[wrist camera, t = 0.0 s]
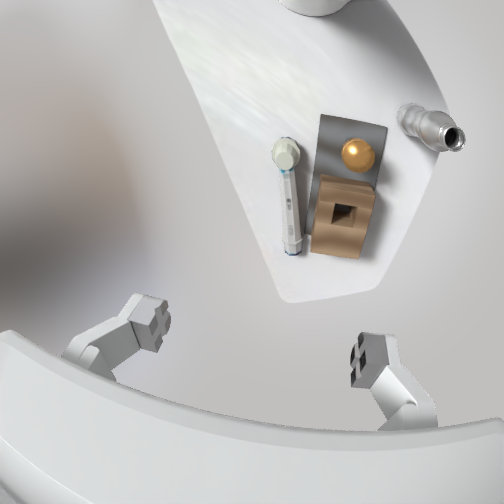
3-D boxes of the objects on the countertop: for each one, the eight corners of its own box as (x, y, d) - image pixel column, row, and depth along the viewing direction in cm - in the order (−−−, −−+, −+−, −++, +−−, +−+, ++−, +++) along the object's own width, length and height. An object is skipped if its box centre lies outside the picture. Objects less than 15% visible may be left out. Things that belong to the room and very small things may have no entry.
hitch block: (320, 114, 48) (322, 118, 42) (386, 126, 46) (397, 133, 40) (304, 232, 63) (302, 251, 56) (360, 241, 61) (365, 260, 55)
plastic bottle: (425, 133, 45) (473, 162, 29) (394, 134, 47) (434, 161, 30) (423, 102, 42) (473, 117, 25) (391, 102, 43) (432, 114, 27)
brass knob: (339, 129, 48) (345, 138, 41) (366, 134, 48) (377, 144, 40) (335, 155, 51) (340, 169, 44) (362, 160, 51) (371, 175, 43)
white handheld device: (280, 256, 63) (267, 147, 47) (283, 237, 68) (271, 135, 52) (304, 256, 62) (298, 146, 46) (305, 237, 67) (298, 134, 51)
